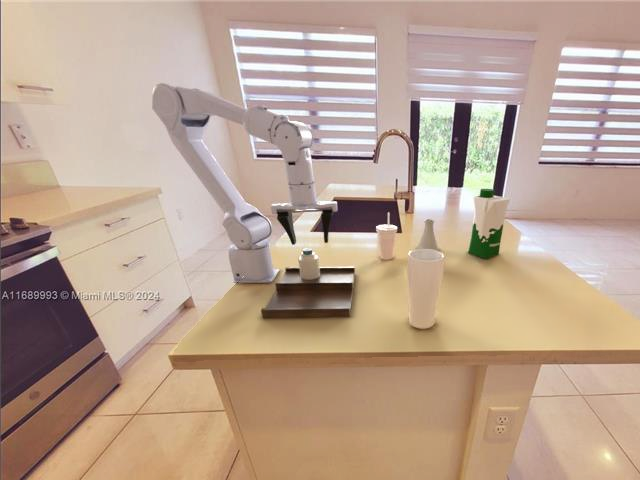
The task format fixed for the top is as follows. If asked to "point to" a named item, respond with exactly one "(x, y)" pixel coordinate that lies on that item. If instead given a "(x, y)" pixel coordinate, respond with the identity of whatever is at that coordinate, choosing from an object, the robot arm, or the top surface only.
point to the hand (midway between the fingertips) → (310, 242)
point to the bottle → (309, 265)
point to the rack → (312, 294)
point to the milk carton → (487, 224)
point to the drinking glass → (424, 286)
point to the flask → (428, 237)
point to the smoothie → (386, 239)
